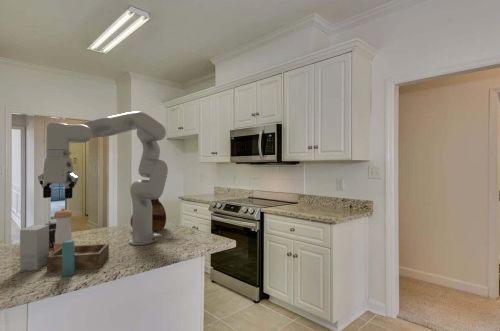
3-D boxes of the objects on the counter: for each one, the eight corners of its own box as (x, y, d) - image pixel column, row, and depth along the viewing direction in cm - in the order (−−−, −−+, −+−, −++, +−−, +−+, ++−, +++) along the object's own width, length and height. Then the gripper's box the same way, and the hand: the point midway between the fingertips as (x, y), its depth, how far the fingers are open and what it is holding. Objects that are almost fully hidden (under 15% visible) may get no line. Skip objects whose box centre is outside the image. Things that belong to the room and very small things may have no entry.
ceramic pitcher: (165, 233, 168) (165, 180, 167) (127, 235, 163) (127, 181, 163) (167, 225, 187) (167, 178, 186) (133, 227, 183) (133, 179, 182)
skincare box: (33, 263, 118) (33, 224, 118) (50, 262, 119) (50, 224, 119) (18, 270, 110) (18, 229, 110) (37, 270, 111) (37, 229, 110)
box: (108, 256, 127) (108, 243, 127) (99, 268, 113) (99, 253, 113) (62, 259, 123) (62, 246, 123) (46, 271, 109) (46, 256, 109)
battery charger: (44, 249, 137) (44, 224, 137) (42, 247, 139) (42, 223, 139) (61, 245, 142) (61, 222, 142) (59, 244, 145) (58, 221, 145)
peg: (76, 272, 109) (75, 240, 108) (72, 276, 105) (72, 242, 105) (64, 273, 108) (64, 240, 108) (60, 277, 104) (60, 243, 104)
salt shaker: (52, 252, 132) (52, 210, 131) (55, 248, 138) (54, 207, 138) (71, 250, 135) (71, 209, 135) (73, 246, 142) (72, 206, 141)
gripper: (84, 154, 118) (84, 197, 118) (47, 154, 121) (47, 196, 121) (69, 154, 111) (69, 199, 111) (30, 154, 114) (30, 198, 114)
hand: (57, 197), depth 116 cm, fingers open, 9 cm apart
